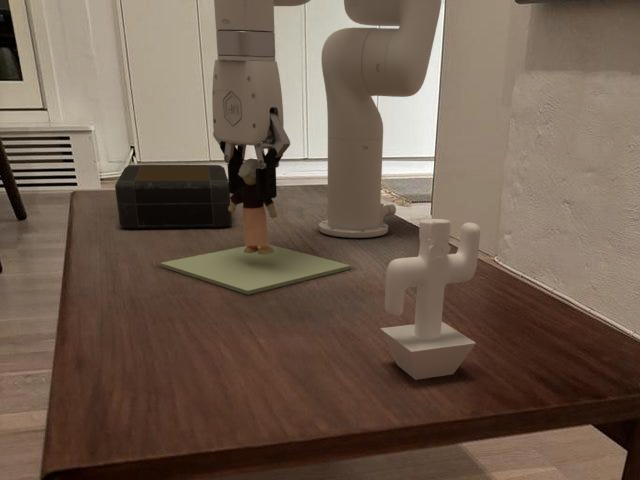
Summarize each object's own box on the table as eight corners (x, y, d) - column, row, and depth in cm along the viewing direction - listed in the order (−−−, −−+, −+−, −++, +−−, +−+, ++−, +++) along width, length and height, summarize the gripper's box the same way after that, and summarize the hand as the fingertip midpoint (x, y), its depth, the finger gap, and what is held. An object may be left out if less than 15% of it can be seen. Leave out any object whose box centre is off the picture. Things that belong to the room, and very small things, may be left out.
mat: (262, 246, 122) (262, 242, 122) (350, 269, 111) (350, 265, 111) (160, 266, 109) (160, 262, 109) (248, 295, 98) (247, 290, 98)
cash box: (126, 204, 151) (121, 164, 147) (226, 203, 155) (224, 164, 151) (116, 230, 130) (109, 183, 126) (232, 228, 134) (229, 183, 130)
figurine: (369, 363, 78) (373, 214, 70) (447, 352, 81) (460, 209, 73) (398, 388, 72) (407, 229, 64) (482, 376, 75) (499, 223, 68)
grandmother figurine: (284, 250, 110) (280, 158, 104) (276, 255, 107) (272, 161, 100) (234, 247, 111) (228, 156, 105) (226, 252, 108) (219, 159, 102)
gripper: (182, 46, 98) (194, 190, 108) (268, 48, 89) (273, 207, 98) (227, 48, 103) (235, 185, 112) (312, 50, 93) (313, 201, 103)
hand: (252, 194), depth 105 cm, fingers closed on grandmother figurine, 5 cm apart
